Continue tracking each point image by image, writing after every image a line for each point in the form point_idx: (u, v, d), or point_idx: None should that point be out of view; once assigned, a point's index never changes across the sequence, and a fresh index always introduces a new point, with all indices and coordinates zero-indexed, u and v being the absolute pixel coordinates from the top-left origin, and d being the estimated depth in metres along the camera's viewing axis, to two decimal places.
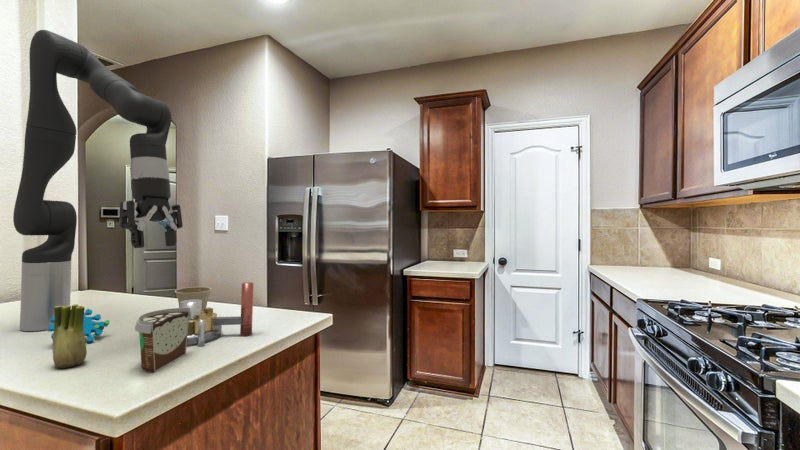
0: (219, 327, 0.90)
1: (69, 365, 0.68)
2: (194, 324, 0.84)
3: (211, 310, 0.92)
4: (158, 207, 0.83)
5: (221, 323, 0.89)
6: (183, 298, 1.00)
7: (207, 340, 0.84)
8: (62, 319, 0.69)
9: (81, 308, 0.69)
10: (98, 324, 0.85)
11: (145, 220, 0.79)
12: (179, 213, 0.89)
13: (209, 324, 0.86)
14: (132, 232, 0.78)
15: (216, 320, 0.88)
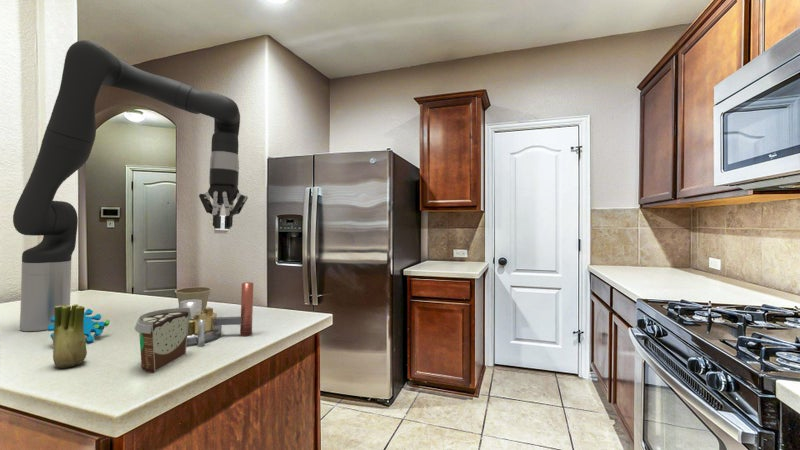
0: (219, 327, 0.90)
1: (69, 365, 0.68)
2: (194, 324, 0.84)
3: (211, 310, 0.92)
4: None
5: (221, 323, 0.89)
6: (183, 298, 1.00)
7: (207, 340, 0.84)
8: (62, 319, 0.69)
9: (81, 308, 0.69)
10: (98, 324, 0.85)
11: None
12: None
13: (209, 324, 0.86)
14: (231, 217, 1.02)
15: (216, 320, 0.88)
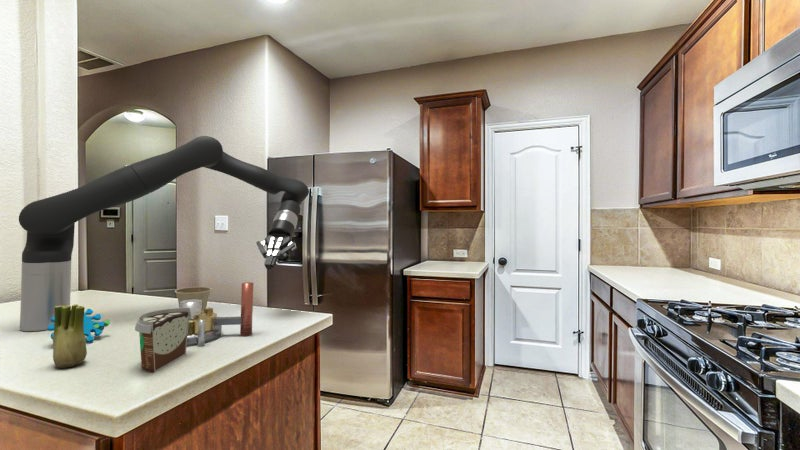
0: (219, 327, 0.90)
1: (69, 365, 0.68)
2: (194, 324, 0.84)
3: (211, 310, 0.92)
4: None
5: (221, 323, 0.89)
6: (183, 298, 1.00)
7: (207, 340, 0.84)
8: (62, 319, 0.69)
9: (81, 308, 0.69)
10: (98, 324, 0.85)
11: None
12: None
13: (209, 324, 0.86)
14: (276, 258, 1.07)
15: (216, 320, 0.88)
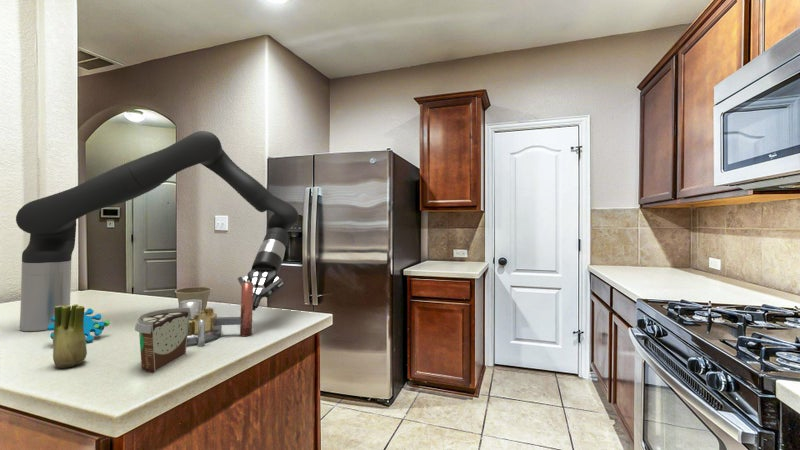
0: (219, 327, 0.90)
1: (69, 365, 0.68)
2: (194, 324, 0.83)
3: (211, 310, 0.91)
4: None
5: (221, 323, 0.89)
6: (183, 298, 1.00)
7: (207, 340, 0.84)
8: (62, 319, 0.69)
9: (81, 308, 0.69)
10: (98, 324, 0.85)
11: None
12: None
13: (209, 324, 0.86)
14: (259, 297, 0.95)
15: (216, 320, 0.88)
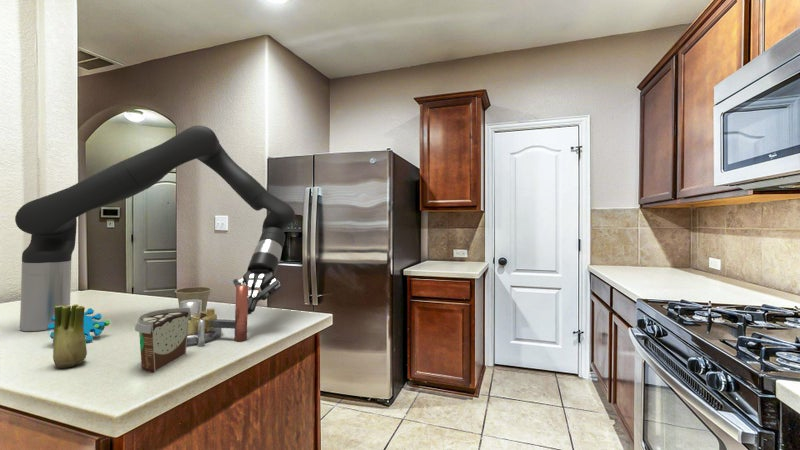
0: None
1: (69, 365, 0.68)
2: None
3: (213, 311, 0.90)
4: None
5: (216, 326, 0.87)
6: (183, 298, 1.00)
7: (207, 340, 0.84)
8: (62, 319, 0.69)
9: (81, 308, 0.69)
10: (98, 324, 0.85)
11: None
12: None
13: None
14: (256, 300, 0.91)
15: (212, 322, 0.87)
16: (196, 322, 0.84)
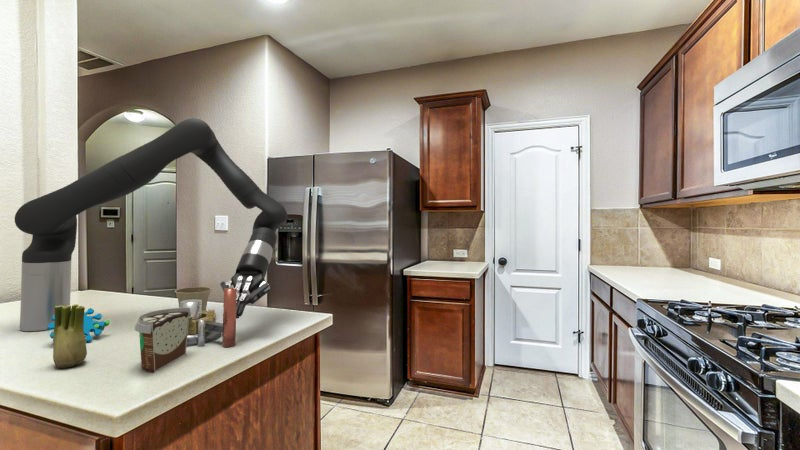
0: None
1: (69, 365, 0.68)
2: None
3: (212, 313, 0.89)
4: None
5: (208, 328, 0.84)
6: (183, 298, 1.00)
7: (207, 340, 0.84)
8: (62, 319, 0.69)
9: (81, 308, 0.69)
10: (98, 323, 0.85)
11: None
12: None
13: (194, 327, 0.83)
14: (244, 303, 0.87)
15: (205, 324, 0.85)
16: None
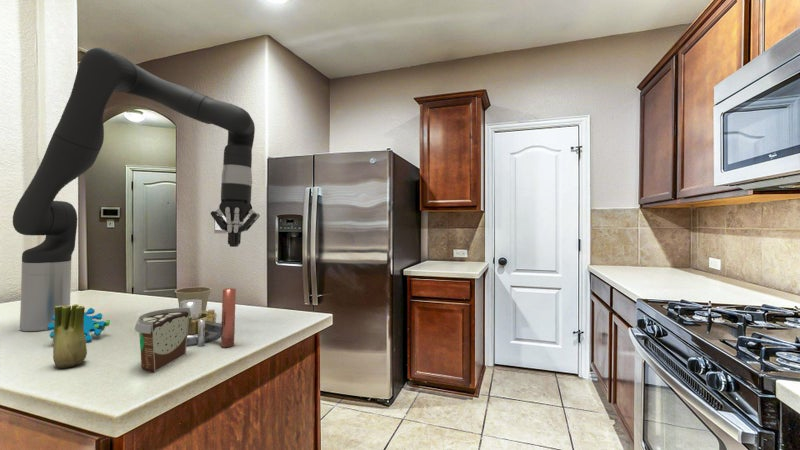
0: None
1: (69, 365, 0.68)
2: None
3: (212, 313, 0.89)
4: None
5: (207, 328, 0.84)
6: (183, 298, 1.00)
7: (207, 340, 0.84)
8: (62, 319, 0.69)
9: (81, 308, 0.69)
10: (98, 323, 0.85)
11: None
12: None
13: (193, 327, 0.83)
14: (239, 234, 0.96)
15: None
16: None
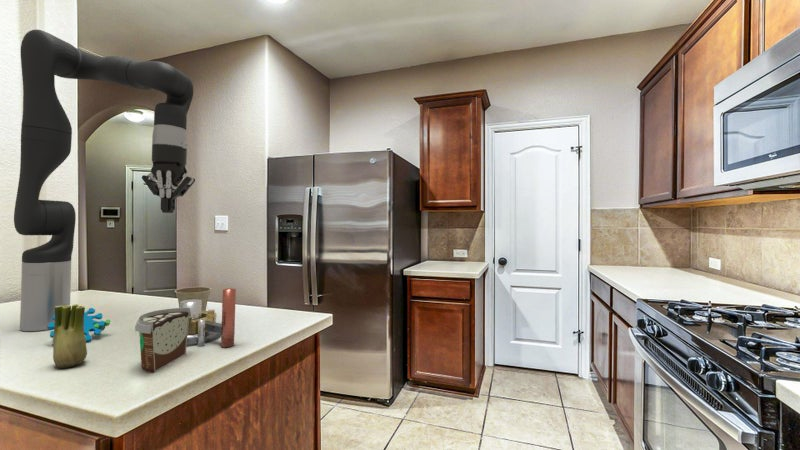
0: None
1: (69, 365, 0.68)
2: None
3: (212, 313, 0.89)
4: None
5: (207, 328, 0.84)
6: (183, 298, 1.00)
7: (207, 340, 0.84)
8: (62, 319, 0.69)
9: (81, 308, 0.69)
10: (98, 323, 0.85)
11: None
12: None
13: (193, 327, 0.83)
14: (172, 199, 0.90)
15: None
16: None
